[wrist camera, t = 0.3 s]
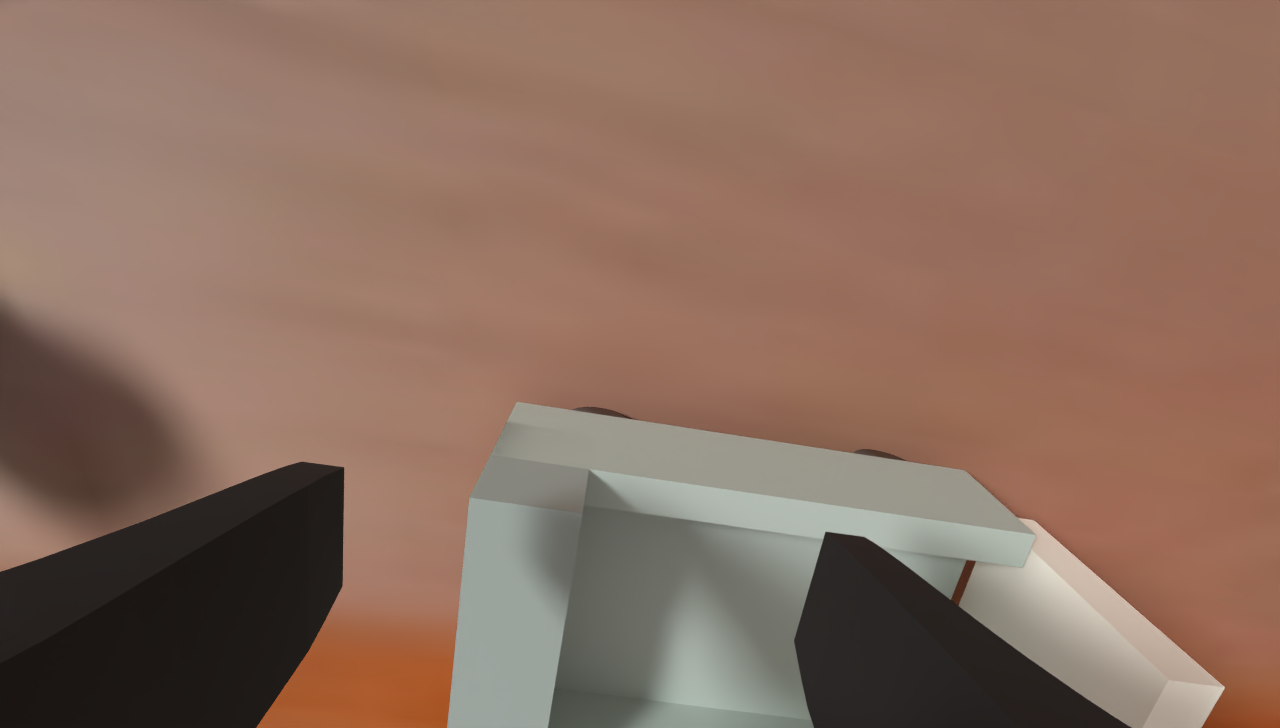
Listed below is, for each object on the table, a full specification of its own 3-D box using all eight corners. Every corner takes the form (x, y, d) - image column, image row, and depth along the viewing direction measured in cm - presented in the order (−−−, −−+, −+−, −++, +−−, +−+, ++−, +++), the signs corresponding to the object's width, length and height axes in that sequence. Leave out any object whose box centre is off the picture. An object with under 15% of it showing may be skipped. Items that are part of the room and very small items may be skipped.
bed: (863, 692, 23) (949, 886, 17) (492, 645, 22) (437, 832, 16) (948, 455, 20) (1092, 586, 14) (522, 390, 19) (469, 497, 13)
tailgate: (949, 746, 20) (1073, 971, 15) (904, 741, 20) (1010, 965, 15) (1046, 522, 18) (1243, 690, 12) (994, 514, 18) (1168, 680, 12)
